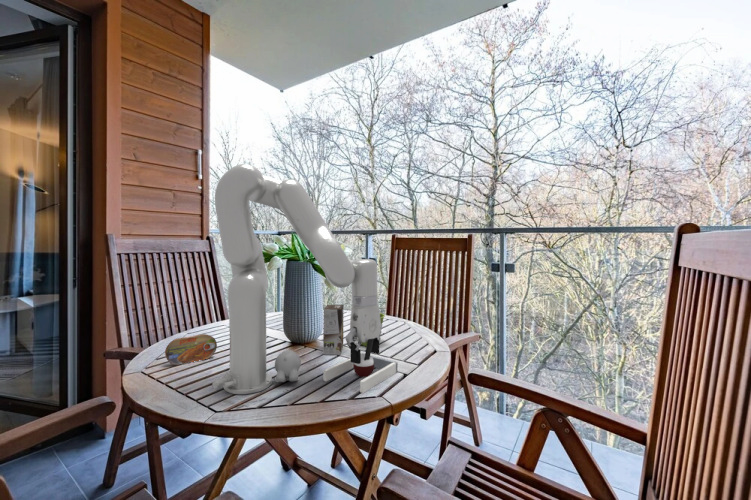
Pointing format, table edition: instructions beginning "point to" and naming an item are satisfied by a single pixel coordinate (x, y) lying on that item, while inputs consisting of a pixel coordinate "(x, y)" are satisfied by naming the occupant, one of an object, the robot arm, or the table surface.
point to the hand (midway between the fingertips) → (365, 357)
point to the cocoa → (365, 362)
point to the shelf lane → (386, 371)
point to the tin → (190, 349)
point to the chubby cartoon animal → (287, 366)
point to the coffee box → (333, 330)
